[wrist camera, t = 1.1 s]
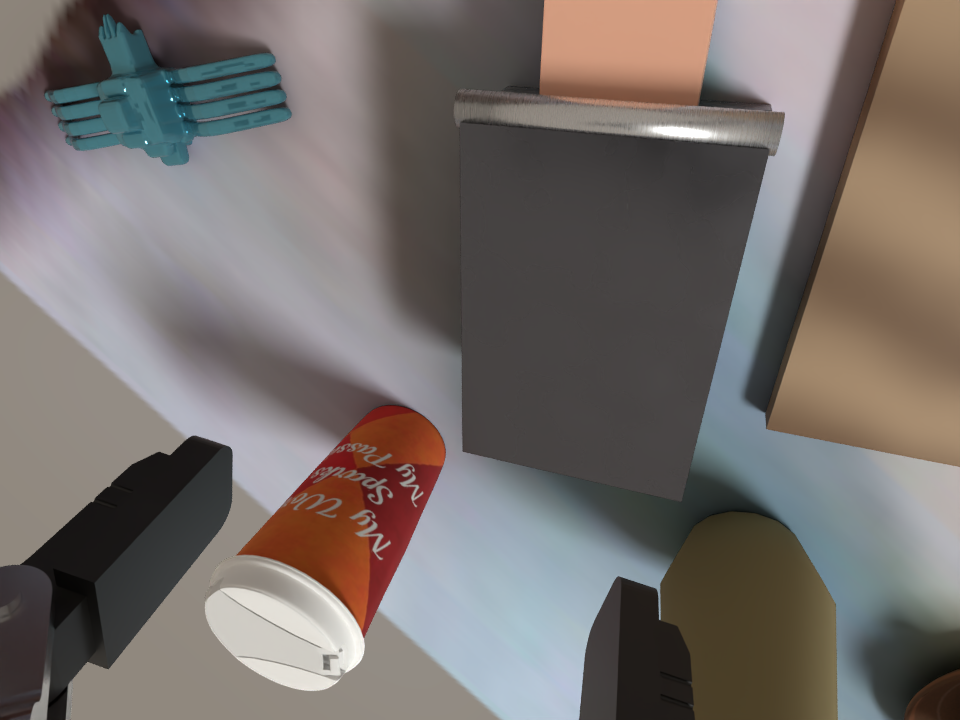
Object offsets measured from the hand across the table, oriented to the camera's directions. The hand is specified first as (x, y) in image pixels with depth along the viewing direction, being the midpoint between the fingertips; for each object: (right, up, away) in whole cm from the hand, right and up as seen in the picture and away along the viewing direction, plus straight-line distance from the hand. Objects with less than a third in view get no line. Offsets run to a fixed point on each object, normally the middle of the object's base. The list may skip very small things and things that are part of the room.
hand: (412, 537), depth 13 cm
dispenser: (+7, +8, +16) cm, 19 cm away
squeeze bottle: (+16, -7, +22) cm, 28 cm away
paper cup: (-3, -1, +26) cm, 26 cm away
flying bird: (-14, +17, +19) cm, 29 cm away
